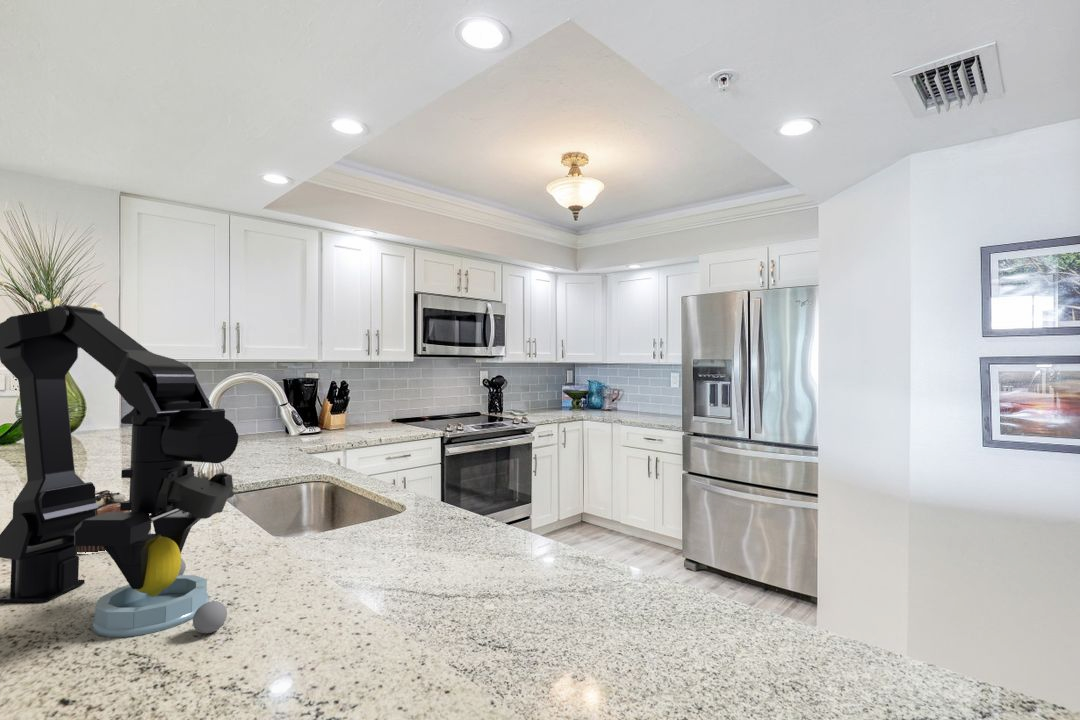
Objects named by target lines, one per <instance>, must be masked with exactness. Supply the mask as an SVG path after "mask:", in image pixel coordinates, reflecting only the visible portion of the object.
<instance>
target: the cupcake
mask: <svg viewBox="0 0 1080 720" xmlns="http://www.w3.org/2000/svg"><path fill="white" fill-rule="evenodd" d="M95 499H96V504H97V506H98V510H97V515H100V514H103V513H106V512H131V511H120V503H121V502H124V501H126V495H125V493H120V492H113V493H112V492H111V491H110V490H108V489H106V490H101V491H99V492H95ZM98 551H105V549H104V548H103V546H77V552H85V553H86V552H98Z"/></svg>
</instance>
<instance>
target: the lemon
mask: <svg viewBox="0 0 1080 720" xmlns="http://www.w3.org/2000/svg"><path fill="white" fill-rule="evenodd" d="M181 554H182V553H181ZM181 554H180V550H179V547H178V545H177V544H176V543H175V542H174V541H173V540H172V539H170V538H167V537H162V536H161V535H160V536H159V537H158V538H157V539H156V540H155V541H154V542H153V543H152V544H151V545H150V547H149V552H148V560H147V568H146V575H145V580H144V585H143V587H142V588H141V589H136V590H137V591H139V592H141V593H147V594H148V595H150V596H151V597H155V596H157V595H158V594H159V593H160V592H161V591H162V590H164V589H166V588H167V587H169V586H170V585H171V584H172V583H173V582H174V581H175V579H176V578H177V576H178V574H179V571H180V568H181V559H182V555H181Z"/></svg>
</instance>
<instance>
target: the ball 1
mask: <svg viewBox="0 0 1080 720" xmlns="http://www.w3.org/2000/svg"><path fill="white" fill-rule="evenodd" d="M186 568H187V567H186V562H185V560H184V559H183V558H181V568H180V571H179V574H178V575H184V574H185V571H186Z"/></svg>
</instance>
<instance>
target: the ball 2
mask: <svg viewBox="0 0 1080 720" xmlns="http://www.w3.org/2000/svg"><path fill="white" fill-rule="evenodd" d="M227 617H228V611H227V608H226V605H224V603H222V602H220V601H217V600H216V601H215V600H213V601H212V600H211V601H209V602H207V603H205V604H203V605H202V606H200V607H199V608H198V609H197V611H196V612H195V614H194V617H193V619H192V625H193V627H194V629H195V630H196V631H197V632H198V633H201V634H212V633H214V632H215V631H218V630H219V629H220V628H222V627H223V626H224V624H225V622H226V621H227Z"/></svg>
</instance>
